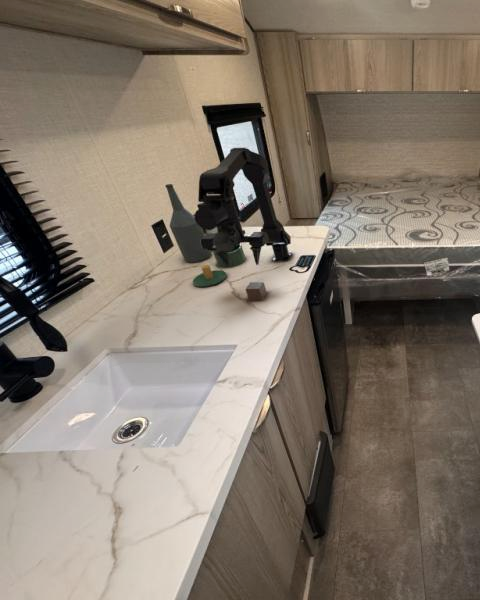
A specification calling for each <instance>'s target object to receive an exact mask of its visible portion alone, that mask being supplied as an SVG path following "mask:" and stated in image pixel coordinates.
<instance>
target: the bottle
mask: <svg viewBox="0 0 480 600" xmlns="http://www.w3.org/2000/svg"><path fill="white" fill-rule="evenodd" d="M165 188H166V190H167V194H168V197H169V201H170V204H171V207H172V214H171V217H170V222H169V228H170V230H171V233H172V235H173V237H174V240H175V242H176V244H177V247H178V249H179V251H180V253H181V256H182V258H183V260H184V261H185V262H188V263H190V264H192V263H202V262H204V261H206V260H208V259H210V258H211V255H212V251H208V250H207V249H203V248H202V247H201V244H200V240H201V239H202V238H203V237H204V236H205V235H204V232H203V230H202V228H201V227H200V226H199V225H198V224H197V223H196V221H195V216H194V214H192V213H191V212H190V211H189V210H188V209H186V208H185V206H184V205H183V203H182V201H181V199H180V197H179V196H178V194H177V191H176V189H175V188H174V185H173V183H168V184H165Z"/></svg>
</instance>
